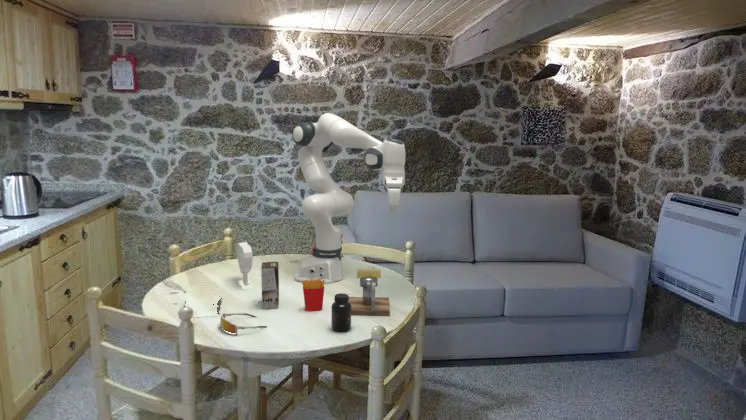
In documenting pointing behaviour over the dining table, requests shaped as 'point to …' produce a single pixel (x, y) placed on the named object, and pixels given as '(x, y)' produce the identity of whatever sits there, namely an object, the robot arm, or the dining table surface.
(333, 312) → the supplement bottle
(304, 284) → the french fries
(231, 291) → the dining table surface
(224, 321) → the sunglasses
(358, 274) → the coupling
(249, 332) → the dining table surface
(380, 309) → the post stand
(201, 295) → the dining table surface
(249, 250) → the heart sculpture
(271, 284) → the coffee box
